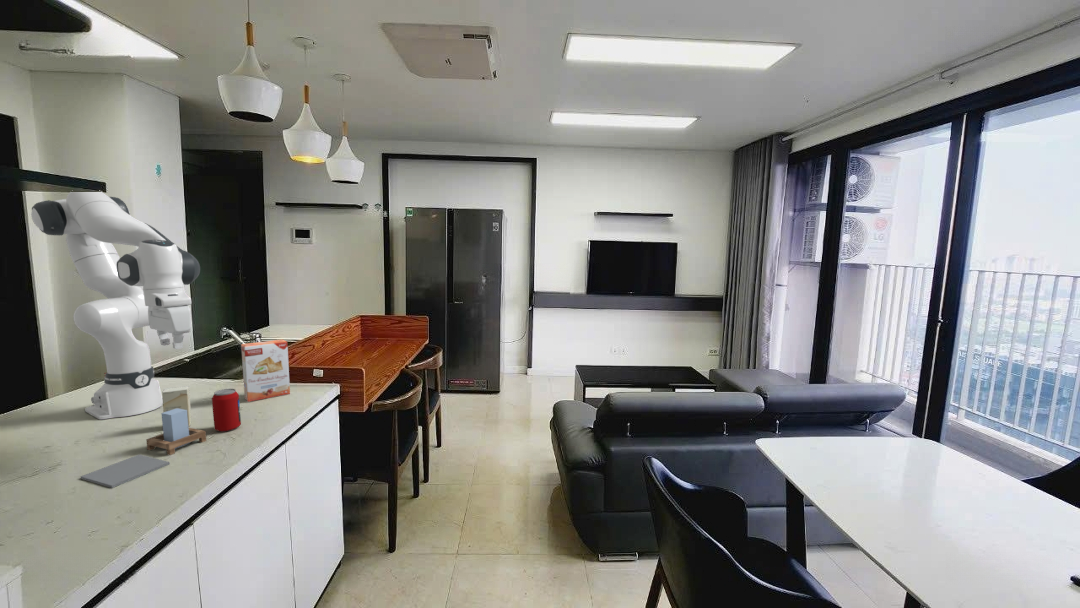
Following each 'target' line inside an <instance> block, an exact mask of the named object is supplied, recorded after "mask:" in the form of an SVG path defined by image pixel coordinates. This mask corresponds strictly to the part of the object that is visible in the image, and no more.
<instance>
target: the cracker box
mask: <svg viewBox="0 0 1080 608" xmlns="http://www.w3.org/2000/svg"><path fill="white" fill-rule="evenodd" d="M288 345H289V344H288V341H286V340H284V339H275V340H267V341H258V342H251V343H242V344H240V347H241V360H242V361H241V362H242V378H243V390H244V399H245V400H246V401H247V402H249V403H251V402H254V401H259V400H265V399H269V398H276V397H280V396H285V395H290V394H291V389H290V388H291V387H290V385H291V384H290V372H289V371H290V367H289V350H288V349H289V348H288Z"/></svg>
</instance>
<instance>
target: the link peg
mask: <svg viewBox="0 0 1080 608" xmlns="http://www.w3.org/2000/svg"><path fill="white" fill-rule="evenodd" d="M160 414H161V423H162V432H163V433H162V434H164V441H168V442H173V441H176V440H178V439H181V438H184V437H186V436H189V428H190V427H188V417H187V410H184V409H179V408H176V409H173V410H170V411H167V412H161V413H160ZM189 444H191V442H189V443H186V444H184V445H181V446H179V447H176V448H175V450H178V449H180V448H182V447H184V446H187V445H189Z"/></svg>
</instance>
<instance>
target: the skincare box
mask: <svg viewBox="0 0 1080 608" xmlns="http://www.w3.org/2000/svg"><path fill="white" fill-rule="evenodd" d="M161 395H162V398H163V403H162V409H163V412H167V411H170V410H173V409H176V408H179V409H184V410H187V417H188V428H190V426H191V424H192V412H191V410H192V409H191V408H192V407H191V395H190V386H189V385H186V386H177V387H167V388H163V390H162V391H161ZM163 412H162V413H163Z"/></svg>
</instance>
